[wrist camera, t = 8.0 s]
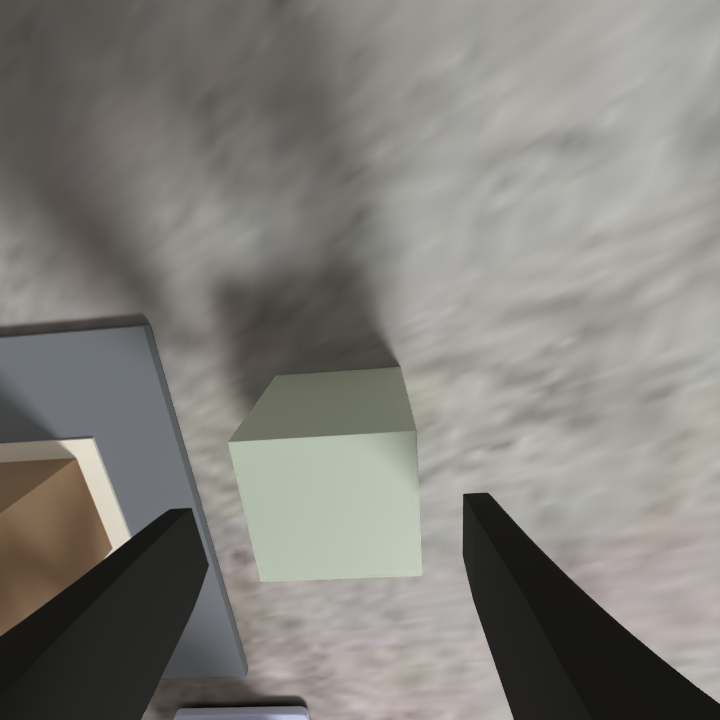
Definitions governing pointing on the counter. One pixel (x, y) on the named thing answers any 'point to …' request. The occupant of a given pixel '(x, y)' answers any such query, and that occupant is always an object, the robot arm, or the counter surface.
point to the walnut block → (44, 534)
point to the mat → (117, 455)
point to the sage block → (331, 477)
